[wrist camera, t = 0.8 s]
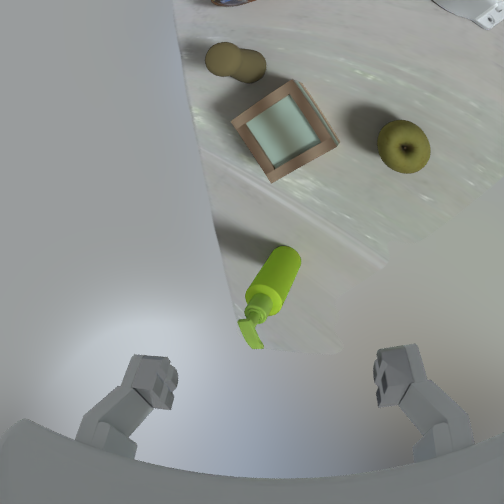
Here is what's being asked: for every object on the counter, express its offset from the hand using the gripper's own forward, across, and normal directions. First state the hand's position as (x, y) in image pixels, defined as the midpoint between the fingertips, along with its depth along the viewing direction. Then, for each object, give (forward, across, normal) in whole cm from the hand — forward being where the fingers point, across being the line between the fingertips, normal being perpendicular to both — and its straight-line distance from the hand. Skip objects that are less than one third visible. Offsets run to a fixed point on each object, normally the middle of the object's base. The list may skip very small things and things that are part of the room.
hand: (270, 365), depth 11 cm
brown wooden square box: (+41, -2, +1) cm, 41 cm away
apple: (+37, -18, +3) cm, 41 cm away
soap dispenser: (+38, +2, +25) cm, 46 cm away
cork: (+45, +4, -10) cm, 46 cm away
